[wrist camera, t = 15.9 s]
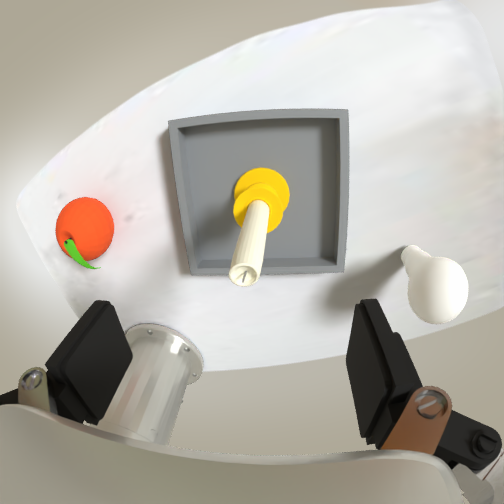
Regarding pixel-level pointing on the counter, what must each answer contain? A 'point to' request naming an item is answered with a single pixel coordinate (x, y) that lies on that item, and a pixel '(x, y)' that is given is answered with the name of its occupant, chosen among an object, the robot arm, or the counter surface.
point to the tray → (273, 157)
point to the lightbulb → (434, 286)
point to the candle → (256, 220)
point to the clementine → (84, 229)
